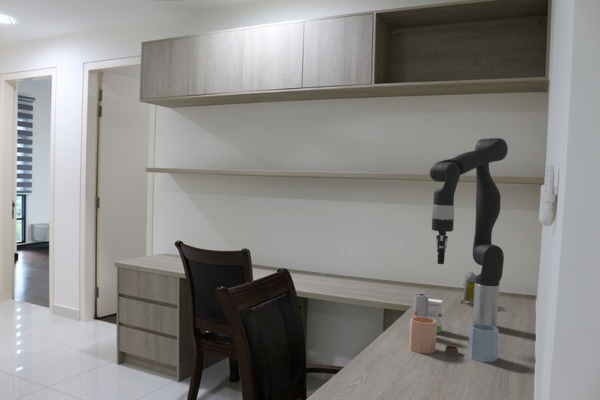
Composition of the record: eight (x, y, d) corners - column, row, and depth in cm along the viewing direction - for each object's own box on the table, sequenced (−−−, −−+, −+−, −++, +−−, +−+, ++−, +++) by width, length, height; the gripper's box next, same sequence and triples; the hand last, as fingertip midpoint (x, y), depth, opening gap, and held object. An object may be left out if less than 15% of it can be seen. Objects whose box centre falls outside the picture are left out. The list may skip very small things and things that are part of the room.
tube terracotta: (417, 343, 172) (419, 315, 172) (439, 350, 166) (440, 320, 166) (404, 348, 166) (406, 319, 166) (426, 355, 160) (427, 324, 160)
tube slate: (476, 351, 166) (477, 322, 166) (500, 358, 160) (502, 328, 160) (464, 356, 160) (466, 326, 160) (489, 364, 154) (490, 332, 154)
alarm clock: (475, 307, 230) (477, 275, 229) (460, 305, 232) (461, 273, 232) (474, 301, 241) (476, 271, 241) (460, 300, 243) (461, 270, 243)
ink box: (442, 330, 190) (443, 299, 190) (440, 333, 185) (442, 302, 185) (419, 326, 193) (421, 297, 193) (417, 330, 189) (419, 299, 188)
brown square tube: (445, 350, 166) (445, 344, 166) (457, 352, 164) (458, 346, 164) (445, 354, 162) (445, 348, 162) (457, 356, 161) (458, 350, 161)
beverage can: (416, 331, 186) (418, 292, 185) (428, 335, 183) (430, 294, 182) (409, 334, 182) (411, 294, 181) (422, 338, 179) (424, 297, 178)
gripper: (433, 216, 186) (431, 258, 186) (431, 218, 172) (429, 264, 173) (453, 217, 183) (451, 260, 184) (453, 219, 170) (451, 266, 170)
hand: (440, 262), depth 178 cm, fingers open, 8 cm apart
